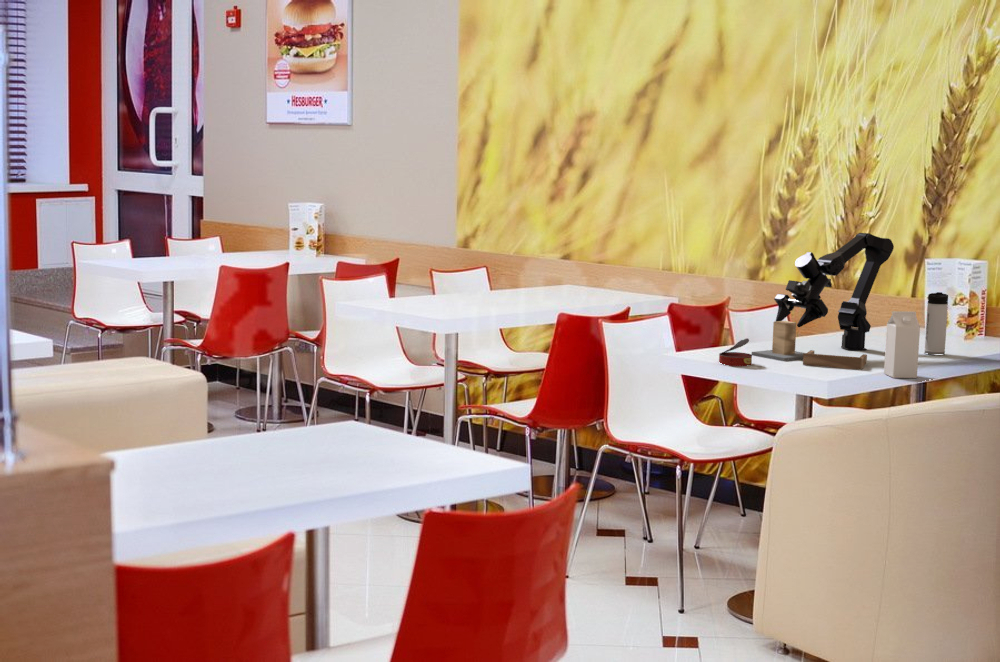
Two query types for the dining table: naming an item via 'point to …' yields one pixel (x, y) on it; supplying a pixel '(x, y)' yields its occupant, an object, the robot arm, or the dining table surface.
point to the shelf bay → (834, 360)
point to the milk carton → (902, 345)
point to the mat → (779, 355)
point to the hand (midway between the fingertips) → (787, 324)
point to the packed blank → (784, 337)
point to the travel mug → (936, 323)
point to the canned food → (736, 356)
